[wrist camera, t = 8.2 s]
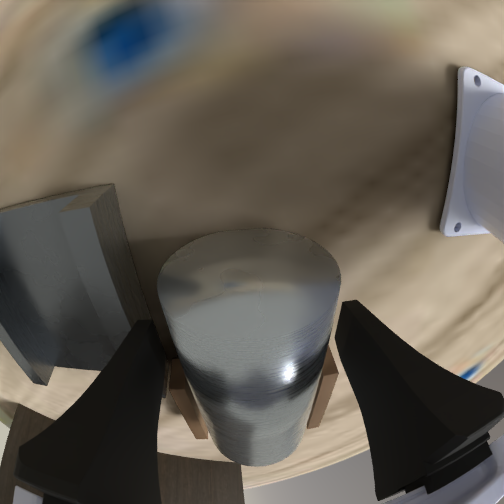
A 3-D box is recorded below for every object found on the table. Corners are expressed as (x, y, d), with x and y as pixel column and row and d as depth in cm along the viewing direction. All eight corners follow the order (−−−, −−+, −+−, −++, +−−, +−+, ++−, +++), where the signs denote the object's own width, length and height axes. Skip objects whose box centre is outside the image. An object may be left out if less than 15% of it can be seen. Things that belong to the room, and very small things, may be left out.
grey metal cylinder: (170, 234, 10) (140, 344, 6) (311, 223, 11) (371, 321, 6) (209, 391, 16) (211, 469, 12) (295, 383, 17) (312, 458, 12)
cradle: (113, 183, 9) (89, 207, 7) (169, 364, 14) (165, 397, 12) (-27, 217, 8) (-53, 239, 7) (44, 357, 14) (34, 383, 12)
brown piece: (328, 344, 14) (338, 372, 13) (312, 403, 18) (318, 426, 16) (172, 358, 14) (168, 389, 12) (196, 415, 18) (196, 439, 16)
